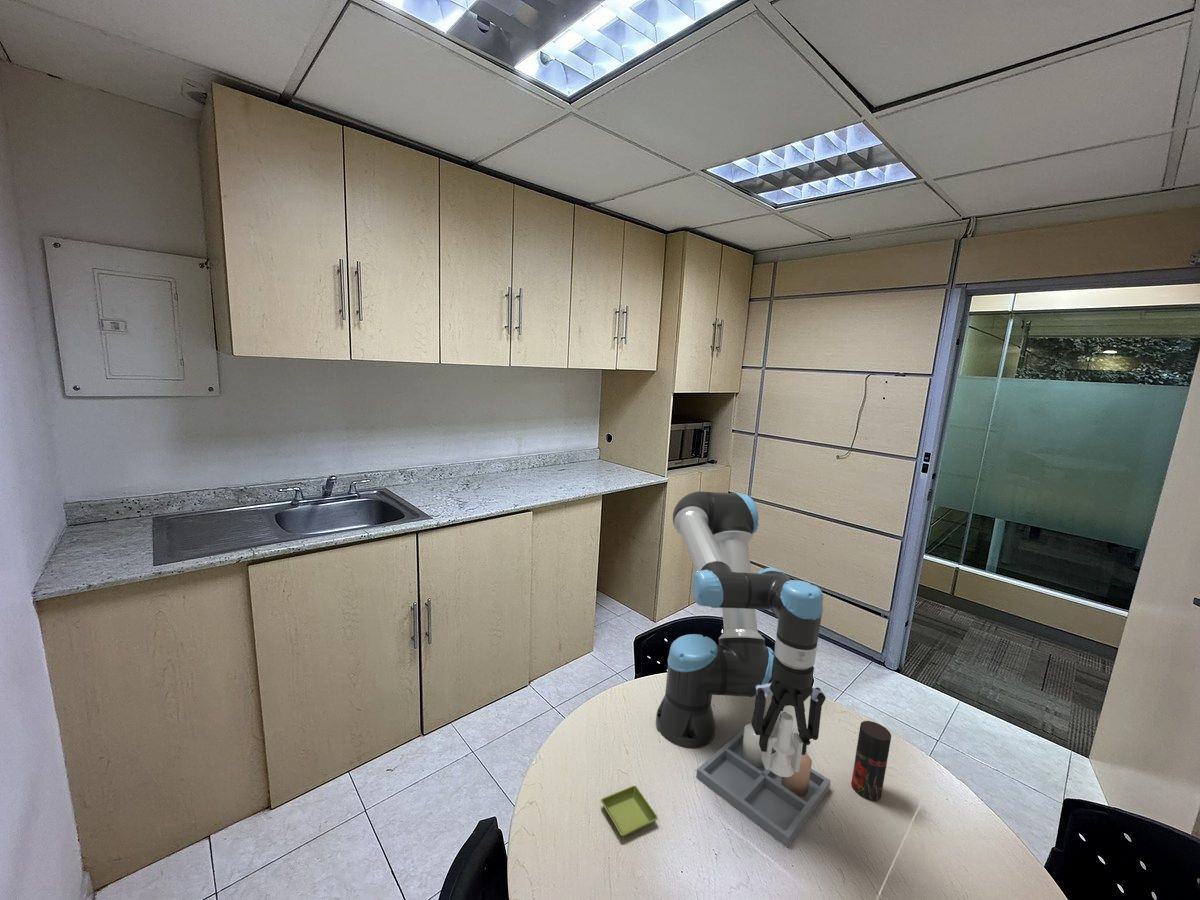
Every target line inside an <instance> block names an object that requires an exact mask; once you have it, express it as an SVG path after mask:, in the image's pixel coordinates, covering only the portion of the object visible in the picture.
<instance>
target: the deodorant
mask: <svg viewBox="0 0 1200 900" xmlns="http://www.w3.org/2000/svg"><path fill="white" fill-rule="evenodd" d="M891 740H892V733H891V731H890V730H889V729H887V728H886V727H885V726H883V725H882V724H880V723H878V722H875V721H871V720H864V721H861V722H860V727H859V732H858V738H857V745H856V751H855V757H854V763H853V770H852V776H851V782H850V785H851V788H852V789H853V791H854V792H855V793H856V794H857V795H858V796H860V797H861V798H862V799H865V800H867V801H869V802H879V801H880V800H881V798H882V794H883V788H884V782H885V778H886V777H885V776H886V770H887V765H888V759H889V754H890V753H889V752H890V746H891Z"/></svg>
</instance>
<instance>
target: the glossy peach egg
mask: <svg viewBox="0 0 1200 900" xmlns="http://www.w3.org/2000/svg"><path fill="white" fill-rule="evenodd" d="M787 757H788V759H789V760H791V755H787ZM812 764H813V761H812V759H811V757H810V755H808V753H807V752H806V753H805V755H801V762H800V769H799V772H795V770H794V773H793V775H792V776H790V777H782V779H781V783H782V786H784V787H785V788H787V789H788V790H790V791H791V792H793V793H794V794H796V795H797V796H799V797H802V796H805V795H806V794H807V792H808V786H809V779H810V772H811V769H812ZM791 765H792V764H791Z"/></svg>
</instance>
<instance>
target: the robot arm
mask: <svg viewBox="0 0 1200 900" xmlns="http://www.w3.org/2000/svg"><path fill="white" fill-rule="evenodd" d="M759 520H760V519H759V511H758V508H757V505H756V502H755V501H754V500H753V498H752V497H751V496H750V495H747V494H742V493H737V492H730V493H729V492H715V491H703V490H701V491H700V490H699V491H693V492H690V493H688V494H687V495H684V496H683V497H682V498H681V499H679V501H678V502H676V505H675V507H674V508H673V513H672V523H673V525H674V528H675V529H674V530H676V533H678V535H680V536H681V537H682V539H683V542H684V544H685V547H686V549H687V552H688V555H689V556H690V557H689V558H690V559H691V562H692V564H693V566H694V570H695V572H694V574H693V577H692V584H691V586H692V587H691V588H692V595H693V596H692V597H693V600H694V602H695V603H696V604H697V605H698V606H701V607H710V608H712V609H713V608H714V609H716V608H717V609H718V608H719V609H720V608H721V610H722V621H723V622H722V624H723V633H722V634H721V635H720V636H719V637H718V644H717V643H716V641H714V640H713V639H712V638H711V637H708V636H704V635H702V634H699V633H698V634H697V633H693V634H692V633H691V634H690V633H689V634H685V635H682V636H679V637H678V638H676V639H675V640H673V642H672V643H671V645H670V648H669V654H668V658H667V672H666V683H665V692H664V695H663V698H662V700H661V701H660V704H659V707H658V709H657V711H656V714H655V715H656V716H655V726H656V729H657V731H658V732H659V734H660V735H661V736H663V738H664V739H666V740H667V741H669V742H670V743H671V744H674V745H676V746H679V747H682V748H687V749H701V748H704V747H706V746H708V745H709V744H710V743H712V742H713V740H714V738H715V735H716V729H717V727H716V726H717V725H716V720H715V718H714V713H713V707H712V698H713V696H726V697H727V696H728V697H749V698H755V699H754V700H755V701H754V706H753V713H752V719H751V724H752V727H753V729H754V732H755V734H756V735H760V739H759V746H760V749H761V751H762V757H761V760H762V762H763V764H764V767H765V769H766V770H769V767H770V760H771V752H772V744H773V737H772V736H771V735H772V732H773V731H774V728H775V726H776V724H777V721H778V719H779V718H780V714H781V713H782V712H784V709H785V707H788V706H792V707H793V709H794V715H795V720H796V726H797V732H798V733H797V732H794V733H793V739H792V744H793V746H794V748H795V752H794V753H793V754H792V755H791V760H790V762H791V764H792V766H793V768H794V770H795V772H799V769H800V762H801V755H805V753H806V754H807V748H808V747H807V746H809V745H810V744H811V740H813V741H817V740H819V733H820V725H821V724H820V723H821V715H822V707H823V704H824V702H825V700H826V699H827V698H826V697H827V696H826V695H825V694H824V692H823V691H822V690H821V688H820V687H819V686H818V687H815V688H814V687H813V686H812V684H813V679H814V673H815V672H814V671H815V667H814V666H815V663H816V656H817V649H818V642H819V641H818V640H819V635H820V629H821V624H822V623H821V622H822V615H823V612H824V609H823V608H824V607H823V606H824V605H823V603H824V593H823V591H822V589H821V588H819V587H818V586H817V585H814V584H811V583H810V582H807V581H804V580H797V579H793V580H792V579H791V578H790V577H789V575H787V574H786V573H783V571H781V570H778V569H777V568H775V567H774V568H773V567H766V568H764V569H761V570H759V572H756V573H755V572H752V570H751V567H752V566H751V560H750V559H751V558H750V551H749V543H750V541H751V540H752V539H753V538H754V537H753V534H755V533H756V532H757V530H758V527H759ZM756 610H763V611H764V610H767V611H771V612H772V613H773V614H774V616H775V617H777V628H776V635H775V642H774V650H773V649H772V648H771V647H769V646H766V642H765V641H766V639H765V637H763V636H762V634H761V633H759V630H758V623H757V622H758V621H757V615H756V614H757V613H756ZM770 694H772V696H771V698H770V699H771V700H770V704H769V706H768V708H767V710H766V704H767V699H766V698H768V696H769V695H770ZM809 697H810V700H809V701H810V702H809V710H808V719H806V713H805V712H806V708H805V702H806V700H807V699H808V698H809ZM765 711H766V712H765Z"/></svg>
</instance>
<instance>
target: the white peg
mask: <svg viewBox="0 0 1200 900" xmlns="http://www.w3.org/2000/svg"><path fill="white" fill-rule="evenodd" d="M793 718H794V717H793V715H792V714H790V713H788V712H787V711H782V712H780V715H779V717H778V719H779V720H778V726H777V734H776V737H772V739H773V744H772V747H773V749H774V750H776V752H775V753H774V754H772V755H771V760H770V767H769V769H770V770H771V771H772V772H773V773H774V774H776V775H778V776H781V777H790V776H792V775H793V773H794V768H793V766H792V765H791V762H790V760H789V759H788V757H787V755H792V754H793V753H794V752H795V748H794V746H793V742H791V740H792V739H791V738H792V734H793V726H794V719H793Z"/></svg>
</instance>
